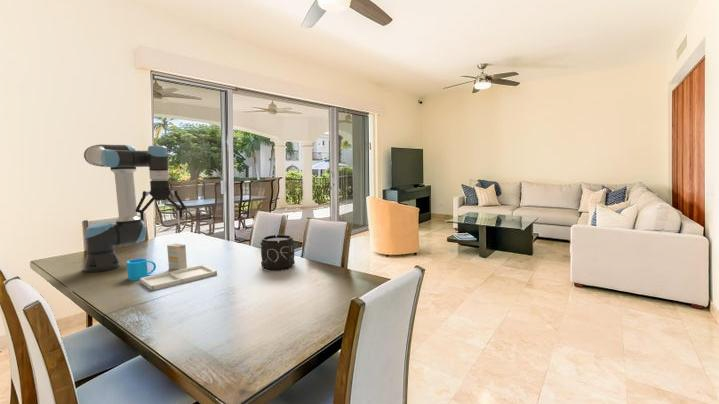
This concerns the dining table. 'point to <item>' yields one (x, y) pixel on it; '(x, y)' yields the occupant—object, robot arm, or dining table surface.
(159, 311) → the dining table surface
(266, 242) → the black cylindrical pot
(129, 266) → the mug
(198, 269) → the organiser tray
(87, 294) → the dining table surface
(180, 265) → the supplement box
